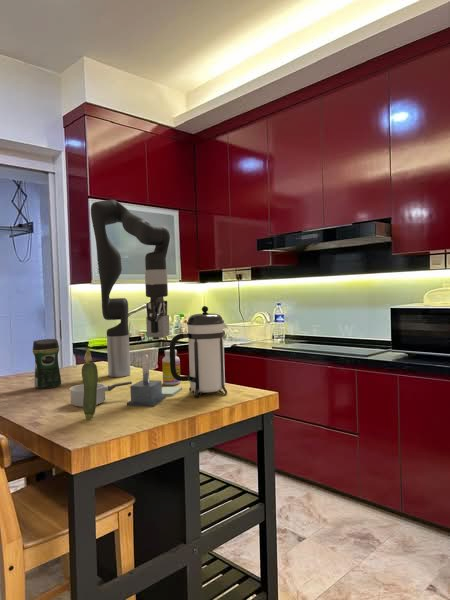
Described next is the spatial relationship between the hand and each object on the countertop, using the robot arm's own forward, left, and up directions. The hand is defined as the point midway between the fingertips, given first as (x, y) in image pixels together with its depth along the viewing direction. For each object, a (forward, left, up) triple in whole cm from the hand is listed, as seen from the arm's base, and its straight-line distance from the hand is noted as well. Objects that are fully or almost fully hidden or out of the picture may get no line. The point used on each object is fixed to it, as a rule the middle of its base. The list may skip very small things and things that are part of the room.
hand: (158, 331), depth 151 cm
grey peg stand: (+11, 0, -22) cm, 24 cm away
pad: (-2, +1, -22) cm, 22 cm away
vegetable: (+30, -9, -22) cm, 38 cm away
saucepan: (+12, -16, -22) cm, 30 cm away
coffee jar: (-8, -49, -22) cm, 55 cm away
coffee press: (-1, +16, -22) cm, 27 cm away
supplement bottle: (-16, -1, -22) cm, 27 cm away
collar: (0, 0, -2) cm, 2 cm away
